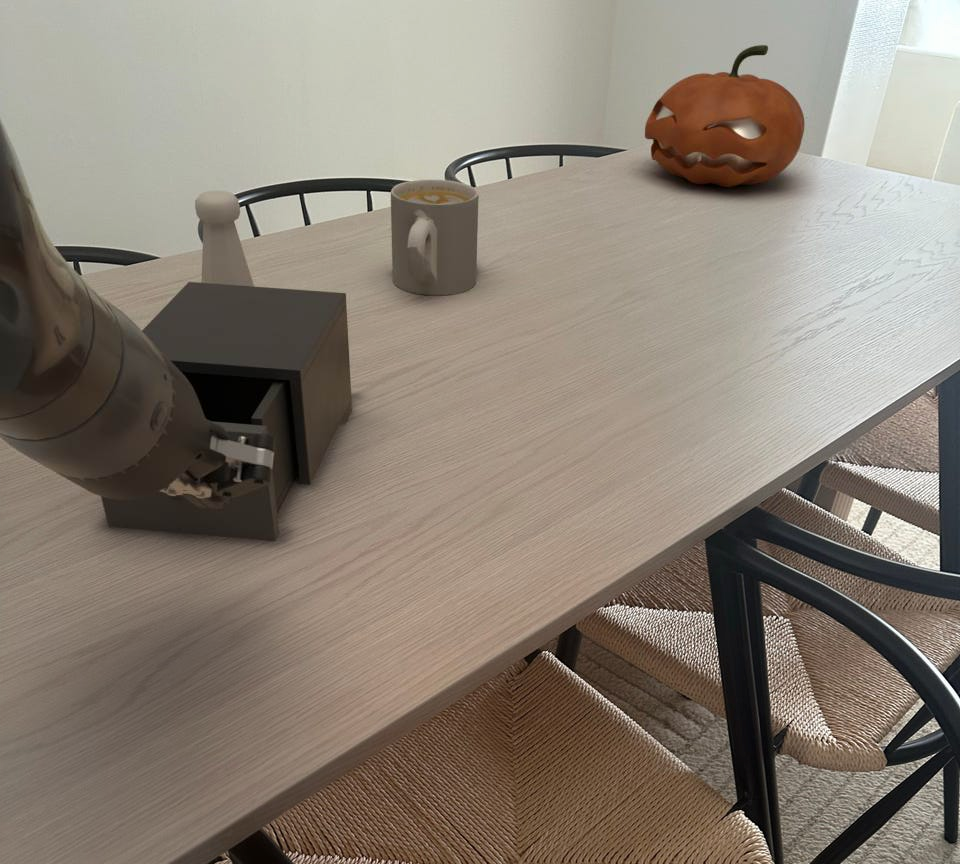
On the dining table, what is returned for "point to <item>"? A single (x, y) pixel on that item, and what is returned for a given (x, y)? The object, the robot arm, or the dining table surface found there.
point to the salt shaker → (221, 240)
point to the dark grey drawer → (240, 413)
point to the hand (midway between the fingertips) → (213, 492)
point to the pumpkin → (726, 127)
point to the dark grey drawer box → (267, 350)
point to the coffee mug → (434, 236)
